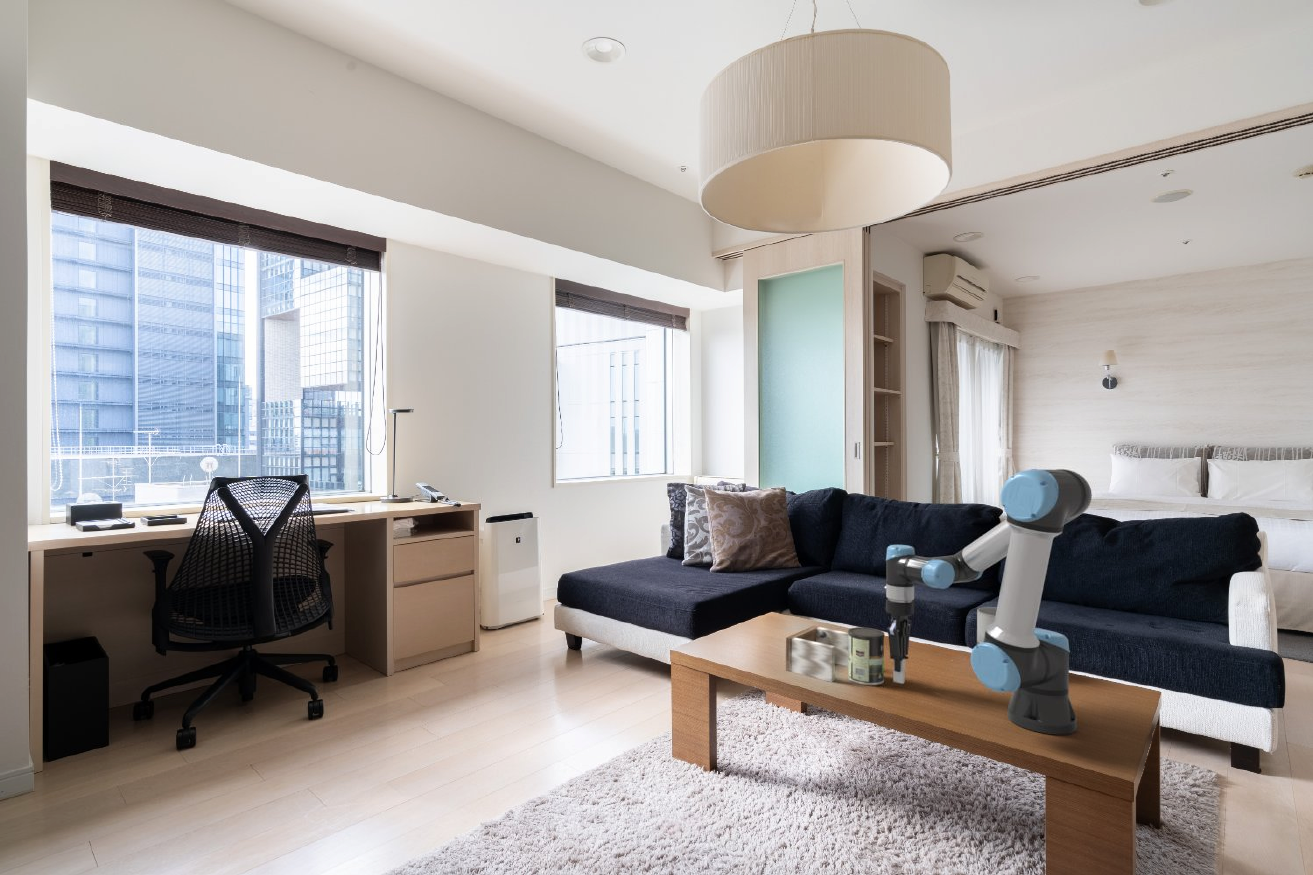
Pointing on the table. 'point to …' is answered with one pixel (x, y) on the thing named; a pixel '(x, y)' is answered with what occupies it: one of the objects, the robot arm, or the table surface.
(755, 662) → the table surface
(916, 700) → the table surface
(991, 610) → the planter
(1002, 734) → the table surface
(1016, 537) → the robot arm
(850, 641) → the coffee can
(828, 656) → the holder
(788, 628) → the table surface
